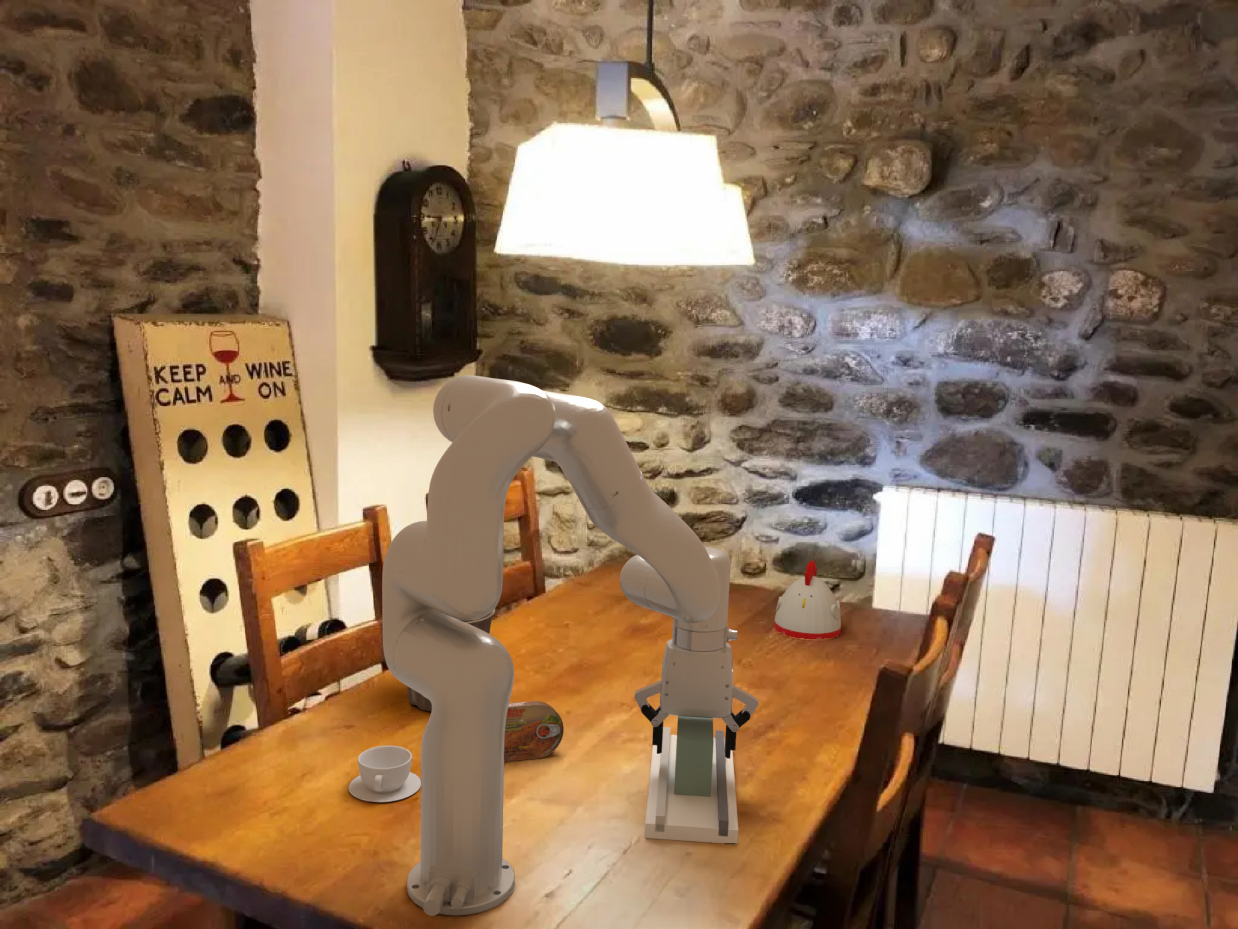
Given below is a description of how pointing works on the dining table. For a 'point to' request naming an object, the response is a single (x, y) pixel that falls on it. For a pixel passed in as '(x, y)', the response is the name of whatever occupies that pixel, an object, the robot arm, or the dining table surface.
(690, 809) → the white railed tray
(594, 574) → the dining table surface
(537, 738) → the tin
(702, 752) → the tea box
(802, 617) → the kitchen timer
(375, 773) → the teacup
